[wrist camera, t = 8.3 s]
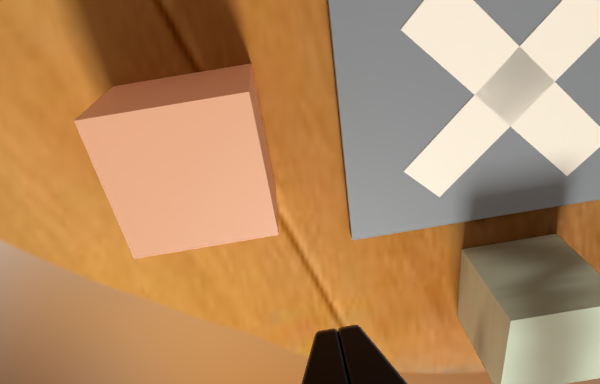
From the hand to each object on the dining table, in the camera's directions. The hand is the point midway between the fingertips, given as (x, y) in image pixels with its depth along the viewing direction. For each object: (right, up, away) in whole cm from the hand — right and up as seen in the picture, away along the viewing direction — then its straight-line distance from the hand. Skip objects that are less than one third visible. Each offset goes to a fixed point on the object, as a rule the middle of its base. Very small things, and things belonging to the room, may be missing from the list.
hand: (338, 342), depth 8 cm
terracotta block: (-5, +5, +11) cm, 14 cm away
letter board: (+9, +8, +11) cm, 16 cm away
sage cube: (+12, -2, +17) cm, 21 cm away
